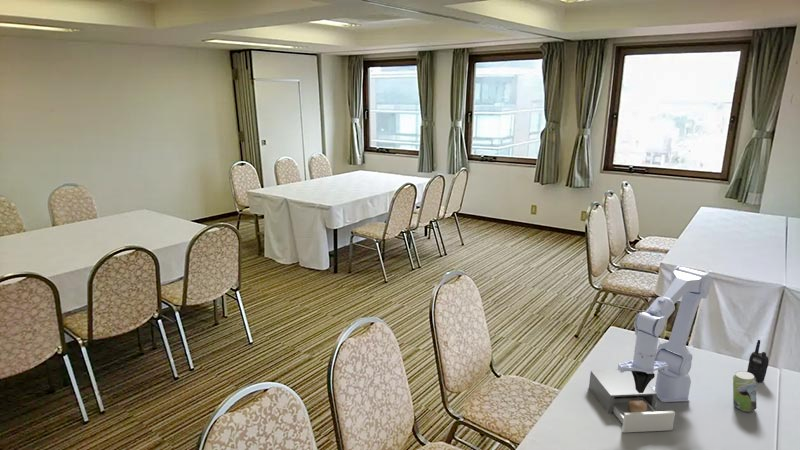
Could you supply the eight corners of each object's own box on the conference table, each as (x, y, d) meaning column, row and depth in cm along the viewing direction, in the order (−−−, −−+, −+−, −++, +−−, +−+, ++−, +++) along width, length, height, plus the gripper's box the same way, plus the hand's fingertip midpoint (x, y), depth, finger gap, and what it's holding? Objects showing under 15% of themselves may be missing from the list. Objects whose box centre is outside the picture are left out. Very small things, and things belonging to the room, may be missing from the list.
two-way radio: (743, 376, 170) (751, 338, 166) (750, 373, 172) (758, 335, 168) (761, 384, 166) (770, 345, 162) (767, 380, 168) (776, 342, 164)
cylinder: (648, 419, 146) (650, 408, 145) (633, 420, 146) (634, 409, 145) (639, 409, 151) (640, 398, 150) (624, 410, 151) (625, 399, 150)
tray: (646, 402, 156) (649, 386, 154) (672, 430, 143) (675, 412, 141) (602, 403, 155) (604, 387, 154) (623, 432, 142) (625, 415, 140)
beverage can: (759, 415, 150) (766, 381, 147) (733, 412, 151) (740, 378, 148) (749, 402, 156) (756, 370, 153) (724, 400, 157) (730, 367, 154)
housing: (631, 385, 165) (633, 368, 164) (654, 411, 152) (657, 393, 150) (588, 387, 165) (590, 370, 163) (608, 413, 151) (610, 395, 149)
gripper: (628, 359, 139) (623, 399, 142) (676, 357, 140) (670, 398, 143) (616, 347, 146) (611, 386, 149) (662, 345, 146) (656, 384, 150)
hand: (639, 391), depth 147 cm, fingers closed
